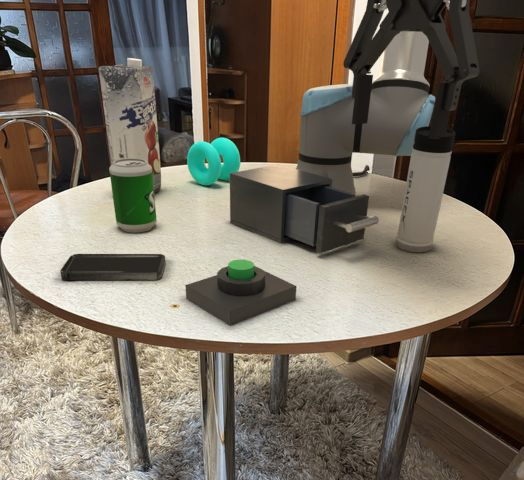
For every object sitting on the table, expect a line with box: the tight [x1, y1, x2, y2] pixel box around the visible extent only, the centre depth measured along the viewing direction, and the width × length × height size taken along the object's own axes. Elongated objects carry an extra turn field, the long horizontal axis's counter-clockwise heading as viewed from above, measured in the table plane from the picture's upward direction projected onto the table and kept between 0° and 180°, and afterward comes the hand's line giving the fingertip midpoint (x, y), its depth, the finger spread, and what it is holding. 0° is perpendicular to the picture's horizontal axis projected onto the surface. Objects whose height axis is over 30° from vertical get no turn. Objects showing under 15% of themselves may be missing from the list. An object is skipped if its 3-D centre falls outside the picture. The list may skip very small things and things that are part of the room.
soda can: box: [108, 158, 158, 233], centre depth 94 cm, size 8×8×12 cm
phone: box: [59, 253, 167, 281], centre depth 80 cm, size 8×1×15 cm
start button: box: [227, 258, 255, 280], centre depth 70 cm, size 4×4×2 cm
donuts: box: [186, 137, 241, 186], centre depth 124 cm, size 10×10×10 cm
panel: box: [185, 265, 297, 326], centre depth 72 cm, size 12×10×4 cm
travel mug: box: [395, 125, 456, 253], centre depth 87 cm, size 6×7×20 cm
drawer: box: [284, 185, 380, 254], centre depth 90 cm, size 18×11×8 cm, turn 42°
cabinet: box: [229, 164, 332, 244], centre depth 97 cm, size 15×13×10 cm
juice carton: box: [98, 57, 162, 194], centre depth 109 cm, size 9×10×27 cm
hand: (395, 130), depth 73 cm, fingers open, 13 cm apart
